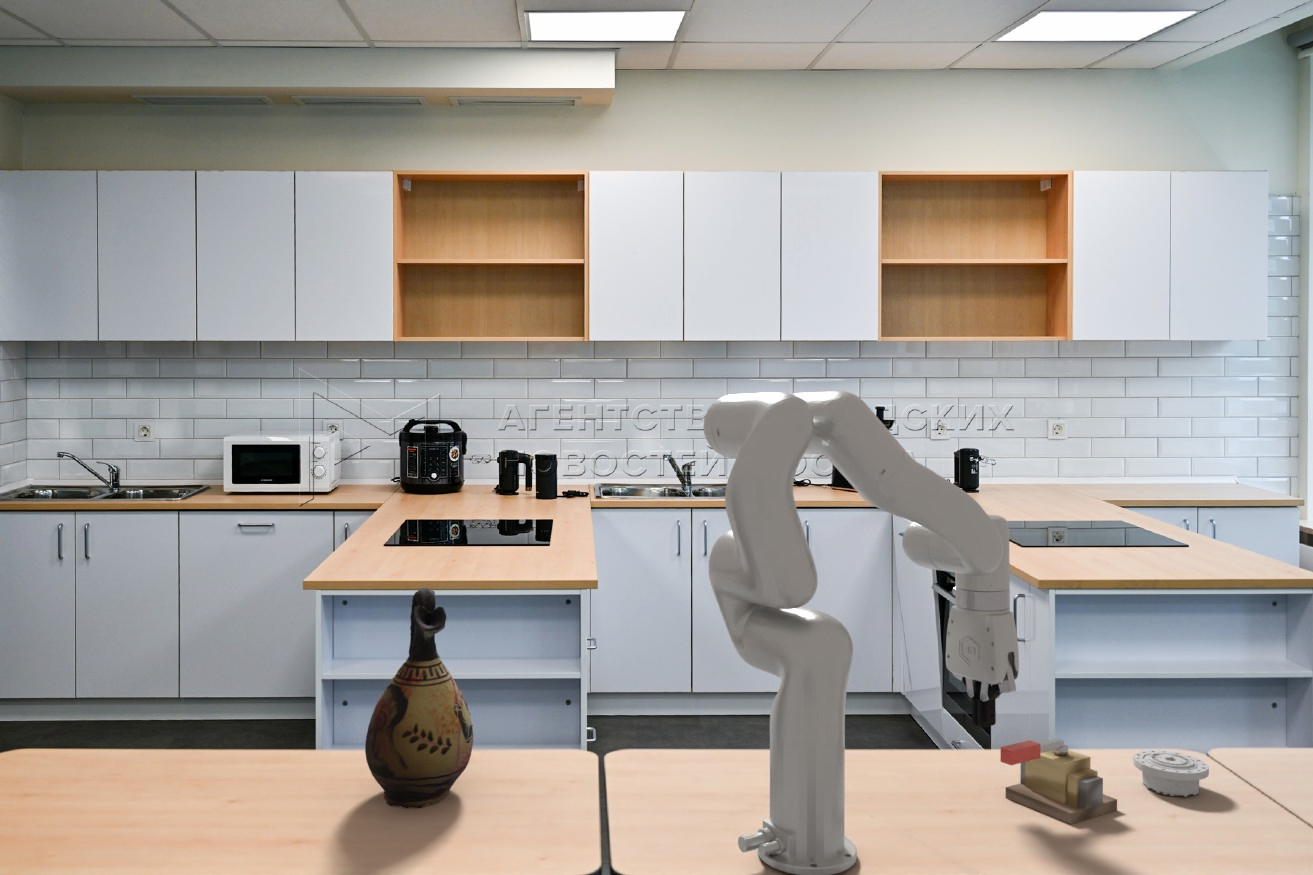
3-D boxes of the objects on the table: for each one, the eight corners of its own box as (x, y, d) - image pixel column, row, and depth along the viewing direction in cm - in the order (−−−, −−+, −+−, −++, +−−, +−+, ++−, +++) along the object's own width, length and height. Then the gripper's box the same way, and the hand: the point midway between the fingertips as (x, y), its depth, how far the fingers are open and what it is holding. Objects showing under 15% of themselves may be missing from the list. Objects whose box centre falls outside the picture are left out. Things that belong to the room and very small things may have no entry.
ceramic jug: (483, 806, 138) (482, 597, 138) (370, 823, 132) (370, 604, 132) (461, 767, 154) (461, 579, 153) (360, 780, 148) (359, 585, 148)
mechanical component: (1201, 775, 138) (1125, 760, 145) (1200, 806, 138) (1125, 789, 145) (1214, 757, 146) (1142, 743, 152) (1214, 786, 146) (1142, 771, 152)
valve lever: (1059, 749, 141) (1059, 732, 141) (1071, 753, 139) (1071, 736, 139) (999, 764, 134) (999, 746, 134) (1011, 769, 133) (1011, 751, 133)
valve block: (1070, 824, 132) (1071, 772, 132) (1005, 797, 142) (1005, 749, 142) (1117, 809, 137) (1117, 759, 137) (1050, 784, 147) (1051, 738, 147)
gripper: (925, 594, 146) (927, 715, 146) (1006, 611, 133) (1007, 744, 133) (961, 589, 149) (962, 707, 150) (1043, 605, 136) (1044, 734, 137)
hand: (983, 724), depth 141 cm, fingers closed
